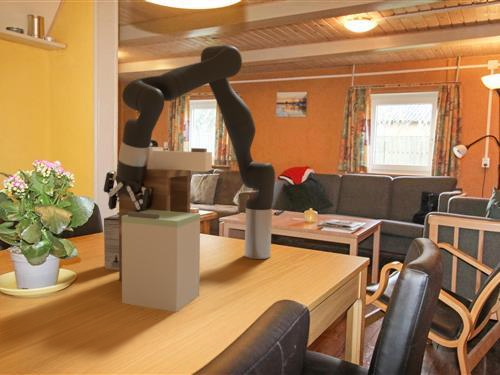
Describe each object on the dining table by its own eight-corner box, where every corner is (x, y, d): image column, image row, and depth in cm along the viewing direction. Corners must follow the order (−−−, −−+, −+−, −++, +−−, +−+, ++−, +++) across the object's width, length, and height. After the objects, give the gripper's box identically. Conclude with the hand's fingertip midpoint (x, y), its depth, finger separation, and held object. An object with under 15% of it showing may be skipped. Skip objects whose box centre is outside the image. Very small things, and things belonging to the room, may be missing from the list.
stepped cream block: (145, 167, 128) (145, 146, 128) (213, 170, 121) (213, 148, 120) (133, 167, 123) (133, 146, 122) (203, 171, 115) (204, 148, 115)
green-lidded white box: (149, 288, 117) (149, 205, 115) (199, 295, 112) (200, 209, 110) (122, 302, 106) (121, 211, 104) (176, 312, 101) (177, 216, 99)
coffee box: (118, 261, 143) (118, 213, 141) (136, 263, 142) (136, 214, 140) (103, 269, 134) (103, 217, 132) (122, 270, 133) (122, 219, 131)
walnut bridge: (146, 268, 136) (146, 166, 133) (189, 274, 131) (190, 168, 128) (119, 281, 123) (118, 168, 120) (165, 287, 118) (166, 170, 115)
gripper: (164, 166, 115) (153, 219, 120) (121, 148, 119) (113, 201, 124) (147, 171, 108) (136, 228, 114) (102, 152, 112) (94, 208, 118)
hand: (124, 214), depth 119 cm, fingers open, 8 cm apart
